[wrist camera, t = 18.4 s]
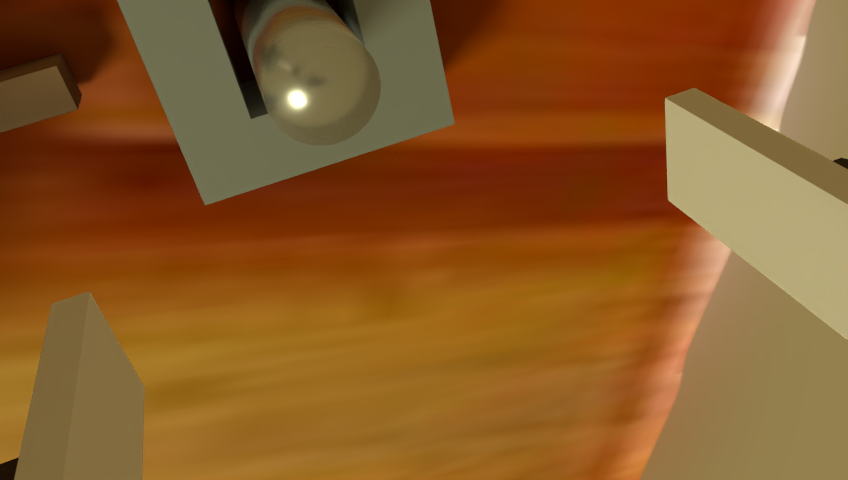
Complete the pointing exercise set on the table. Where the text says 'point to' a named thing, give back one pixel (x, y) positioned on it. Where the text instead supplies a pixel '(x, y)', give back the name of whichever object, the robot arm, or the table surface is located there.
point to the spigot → (309, 69)
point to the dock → (243, 104)
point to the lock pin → (36, 92)
